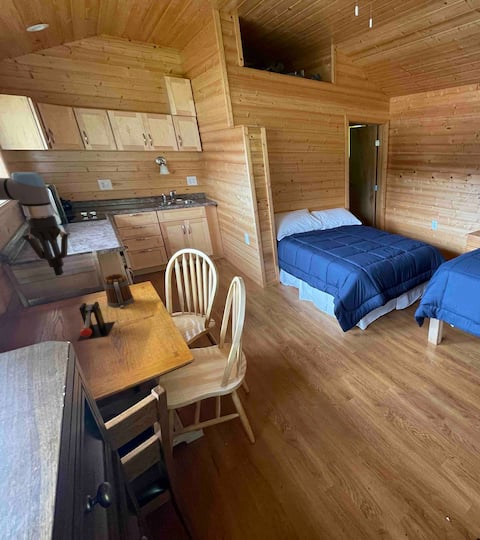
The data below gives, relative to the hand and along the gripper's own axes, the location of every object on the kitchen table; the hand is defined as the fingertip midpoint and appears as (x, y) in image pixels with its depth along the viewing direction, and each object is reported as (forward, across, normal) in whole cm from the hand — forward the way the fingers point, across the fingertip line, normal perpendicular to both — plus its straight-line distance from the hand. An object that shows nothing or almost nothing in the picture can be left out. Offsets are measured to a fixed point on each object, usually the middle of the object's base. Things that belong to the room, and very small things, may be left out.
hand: (59, 274), depth 120 cm
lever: (+18, -8, +10) cm, 23 cm away
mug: (+26, -12, -17) cm, 34 cm away
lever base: (+26, -8, +6) cm, 28 cm away
